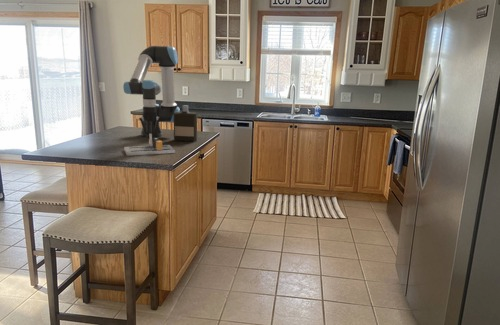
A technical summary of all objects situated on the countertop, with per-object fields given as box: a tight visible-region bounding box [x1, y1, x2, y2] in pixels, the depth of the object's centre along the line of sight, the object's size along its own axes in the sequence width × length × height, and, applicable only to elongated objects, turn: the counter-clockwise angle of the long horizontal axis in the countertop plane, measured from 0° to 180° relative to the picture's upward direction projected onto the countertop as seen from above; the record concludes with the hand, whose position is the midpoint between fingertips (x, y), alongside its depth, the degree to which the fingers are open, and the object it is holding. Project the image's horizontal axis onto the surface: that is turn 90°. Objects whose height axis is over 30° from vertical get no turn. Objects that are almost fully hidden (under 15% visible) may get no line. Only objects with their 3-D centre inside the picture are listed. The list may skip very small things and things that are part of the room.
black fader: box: [152, 137, 160, 147], centre depth 224 cm, size 4×3×5 cm
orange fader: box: [156, 140, 163, 150], centre depth 216 cm, size 4×3×5 cm
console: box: [123, 144, 176, 157], centre depth 219 cm, size 15×28×2 cm, turn 114°
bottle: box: [173, 104, 198, 143], centre depth 254 cm, size 8×16×25 cm, turn 88°
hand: (150, 144), depth 223 cm, fingers closed
